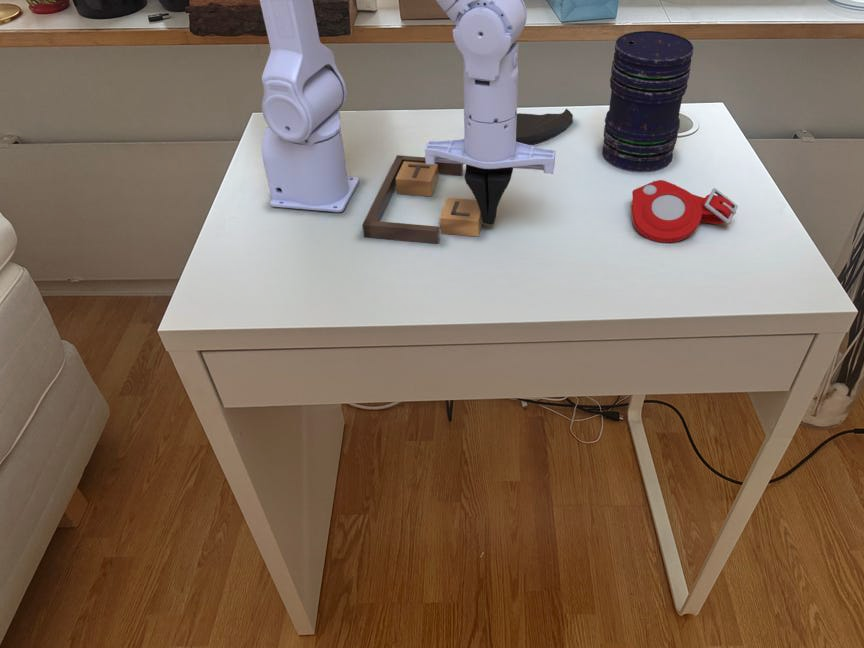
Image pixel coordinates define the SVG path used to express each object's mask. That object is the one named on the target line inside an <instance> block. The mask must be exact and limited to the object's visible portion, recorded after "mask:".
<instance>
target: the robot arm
mask: <svg viewBox="0 0 864 648" xmlns="http://www.w3.org/2000/svg"><path fill="white" fill-rule="evenodd" d="M435 2H436V3H437V4H438V5H439V6H440V8H441V9H442V10H443V12H444V13H445V14H446V16H447V17H448V18H449V19H450V20H451V21H452V22H453V23H454V24H455V27H454V28H453V29H452V38H453V41H454V44H455V46H456V48H457V49H458V51H459V52H460V54H461V55H462V57H463V60H462V61H463V69H462V72H463V73H462V76H463V77H462V79H463V80H462V81H463V82H462V83H463V84H462V85H463V88H462V89H463V133H464V134H463V138H461V139H448V140H428V141H427V143H426V145H425V147H424V157H425V161H426V164H431V165H434V164H435V163H436V162H443V163H456V164H463V165H465V172H464V175H463V176H464V181H465V183H466V185H467V186H468V189H470V191H471V193H472V194H473V196H474V198H475V199H474V200H476V201H477V203H478V206H479V209H480V212H481V216H482V221H483V222H482V225H491V226H493V225H495V222H496V218H497V210H498V206H499V204H500V201H501V199H502V198H503V195H504V193H505V191H506V190H507V188H508V186H509V184H510V181H511V179H512V175H513V173H514V172H513V170H514V169H519V170H521V169H523V170H535V171H542V172H543V174H549V175H553V174H554V171H555V163H556V150H555V149H548V148H543V147H538V146H534V145H527V144H523V143H519V142H516V121H517V114H518V97H519V95H518V92H519V42H516V41H517V40H518V38H520V36H521V35H522V33H523V31H524V29H525V27H526V23H527V15H528V14H527V8H526V7H527V6H526V3H525V2H524V0H435ZM259 5H260V7H261V13H262V17H263V23H264V25H265V30H266V35H267V39H268V43H269V47H270V52H269V55H268V58H267V61H266V63H265V66H264V70H263V72H262V76H261V82H262V87H263V98H262V101H261V112H262V116H263V118H264V121H265V123H266V125H267V126H268V127H267V128H266V129H265V131H264V134H263V136H262V142H261V156H262V163H263V166H264V172H265V175H266V179H267V184H268V188H269V189H268V190H269V193H270V198H271V200H270V201H269V206H270V207H274V208H285V209H297V210H307V211H317V212H318V211H320V212H331V213H342V212H343V211H344V210H345V209H346V206H347V205H348V203H349V201H350V199H351V197H352V195H353V194H354V192H355V190H356V188H357V186H358V185H359V183H360V178H359V177H355V176H348V169H347V163H346V156H345V149H344V148H345V147H344V142H343V141H344V140H343V135H342V134H343V133H342V127H341V121H340V120H341V112H340V109H342V107H343V106H344V105H345V103H346V101H347V95H348V92H347V91H348V90H347V85H346V82H345V80H344V77H343V76H342V75H341V73H340V72H339V69H338V67H337V65H336V61H335V54H334V52H333V50H331V49H330V48H328V47H327V46H326V45H324V44H323V43H322V42H321V39H320V33H319V29H318V28H319V27H318V25H317V24H318V23H317V18H316V13H315V7H314V2H313V0H259Z"/></svg>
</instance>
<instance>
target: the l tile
mask: <svg viewBox="0 0 864 648" xmlns="http://www.w3.org/2000/svg"><path fill="white" fill-rule="evenodd" d="M482 226H483V221H482V216H481V212H480V209H479V206H478V203H477V201H476V199H470V198H469V199H468V198H456V197H447V198H446V199H445V203H444V206H443V208H442V211H441V214H440V216H439V232H440V234H441V235H454V236H465V237H477V238H478V237H479V236H480V231H481V229H482Z"/></svg>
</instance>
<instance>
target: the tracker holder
mask: <svg viewBox="0 0 864 648" xmlns="http://www.w3.org/2000/svg"><path fill="white" fill-rule="evenodd" d="M631 200H632V201H631V206H630V207H631V209H630V211H631V219H632V223H633V226H634V228H635V230H636V231H637V232H638V233H639V234H640V235H641V236H643V237H644V238H646V239H648V240H651V241H653V242H657V243H675V242H676V243H677V242H680V241H682V240H684V239H686V238H688V237H690V236H691V235H692V234H694V232H695V231H696V229H697V228H698V226H699V225H700V223H705V224H713V225H714V224H715V225H720V224H721V225H722V224H727V225H729V224H731V223H732V222H731V221H732V219H733V218H734V216H735V214H737V210H738V207H739V206H738V204H737V203H735V202H734V201H733V200H731V199H730V198H729V197H727V196H726V195H725V194H723V193H722V192H721V191H719V190H718V189H717V188H716V187H714V188H712V190H711V192H710V193H709V194H707V195H706V196H705V197H703V196H699V195H696V194H693V193H691V192H690V191H688V190H686V189H685V188H682V187H681V186H678V185H676V184H674V183H671V182H669V181H667V180H664V179H658V180H653V181H651V182H649V183H647V184H644V185H642V186H640V187H637V188H635V189H633V190H632V199H631Z"/></svg>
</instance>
